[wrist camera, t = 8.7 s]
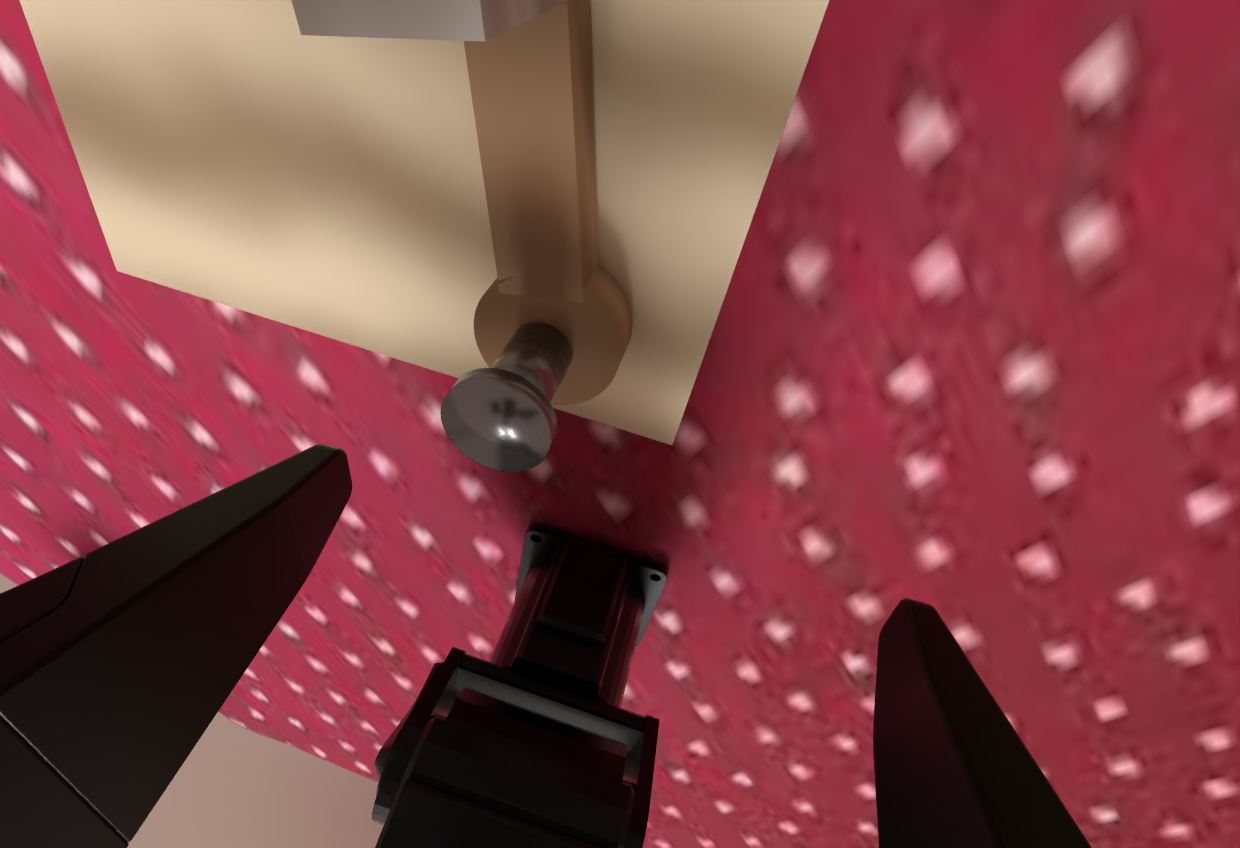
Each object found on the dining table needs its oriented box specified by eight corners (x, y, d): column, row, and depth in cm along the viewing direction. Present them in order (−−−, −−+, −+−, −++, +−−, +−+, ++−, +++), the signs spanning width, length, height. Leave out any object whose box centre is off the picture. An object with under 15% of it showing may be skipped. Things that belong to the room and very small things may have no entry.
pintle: (581, 400, 20) (542, 484, 17) (492, 373, 20) (440, 451, 17) (597, 323, 18) (556, 403, 15) (499, 293, 18) (441, 367, 15)
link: (632, 383, 21) (573, 538, 16) (503, 366, 22) (410, 508, 17) (633, -580, 10) (438, -1042, 5) (366, -540, 11) (-33, -900, 6)
